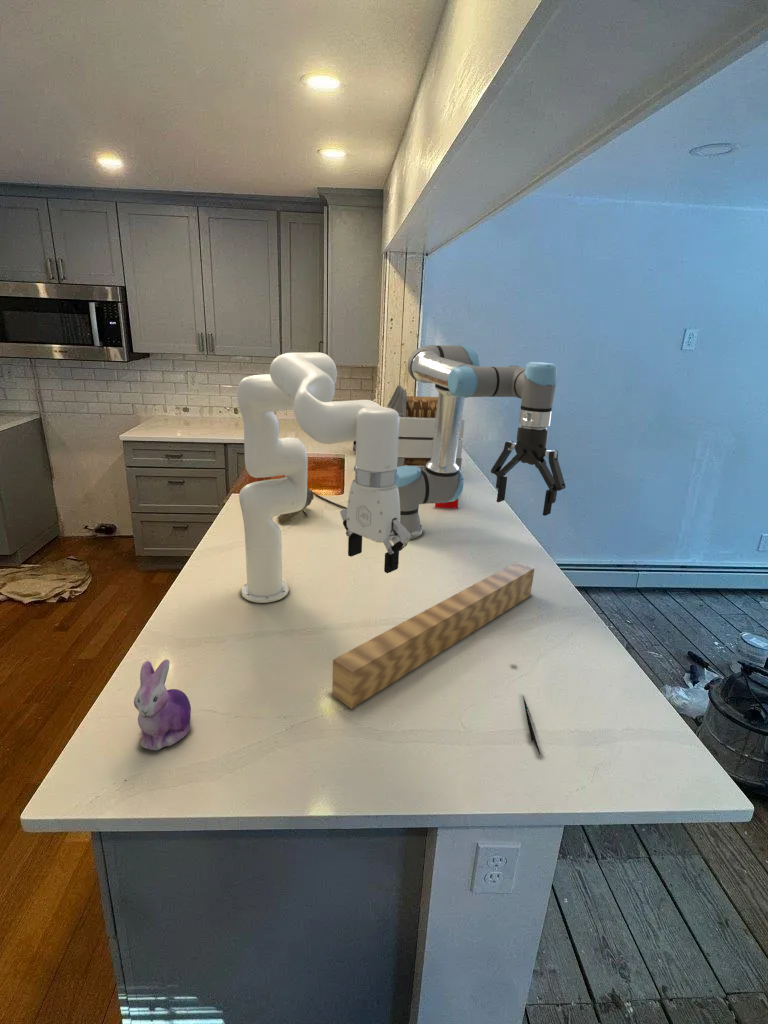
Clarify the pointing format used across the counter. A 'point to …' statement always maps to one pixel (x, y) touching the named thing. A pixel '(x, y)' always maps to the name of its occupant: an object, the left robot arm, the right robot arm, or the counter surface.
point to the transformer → (417, 428)
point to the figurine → (160, 708)
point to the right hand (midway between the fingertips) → (522, 507)
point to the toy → (447, 504)
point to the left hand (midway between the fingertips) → (372, 562)
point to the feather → (530, 725)
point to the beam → (427, 634)
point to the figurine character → (354, 446)
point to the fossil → (290, 516)
